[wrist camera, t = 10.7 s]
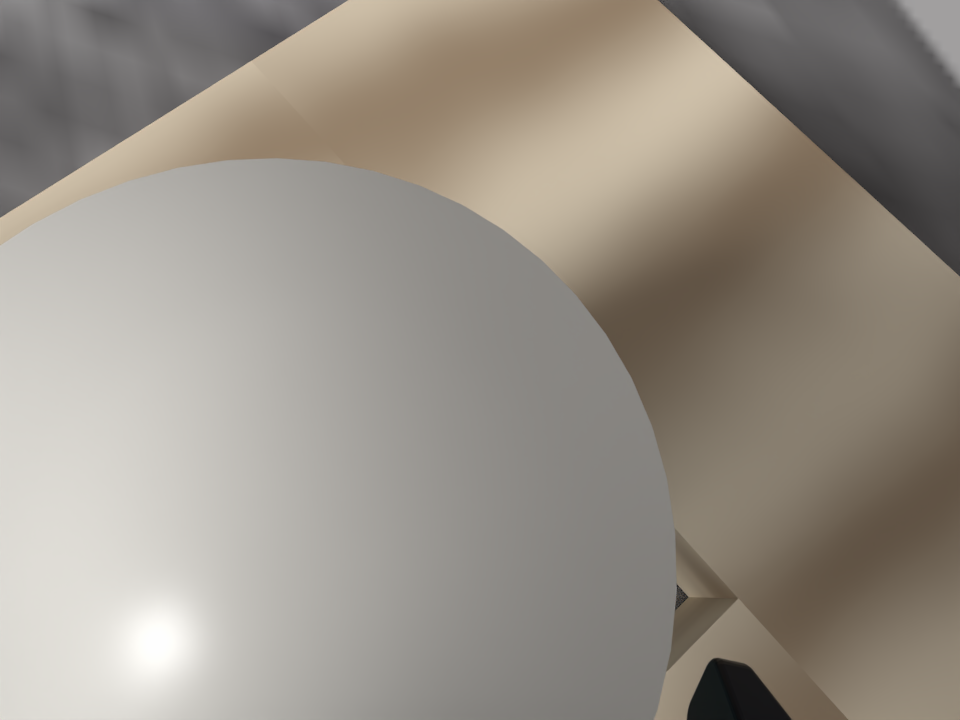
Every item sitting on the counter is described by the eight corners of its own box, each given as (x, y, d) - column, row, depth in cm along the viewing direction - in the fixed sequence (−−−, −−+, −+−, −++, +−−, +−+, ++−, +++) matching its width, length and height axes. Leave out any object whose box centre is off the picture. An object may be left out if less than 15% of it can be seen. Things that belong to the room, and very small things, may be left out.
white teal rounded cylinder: (537, 665, 17) (821, 882, 4) (290, 742, 16) (-227, 1273, 4) (470, 429, 18) (538, 87, 6) (242, 490, 17) (-236, 247, 5)
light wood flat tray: (1111, 539, 18) (1236, 529, 15) (465, 1318, 13) (472, 1517, 10) (520, -25, 22) (532, -115, 20) (-137, 409, 18) (-250, 373, 15)
